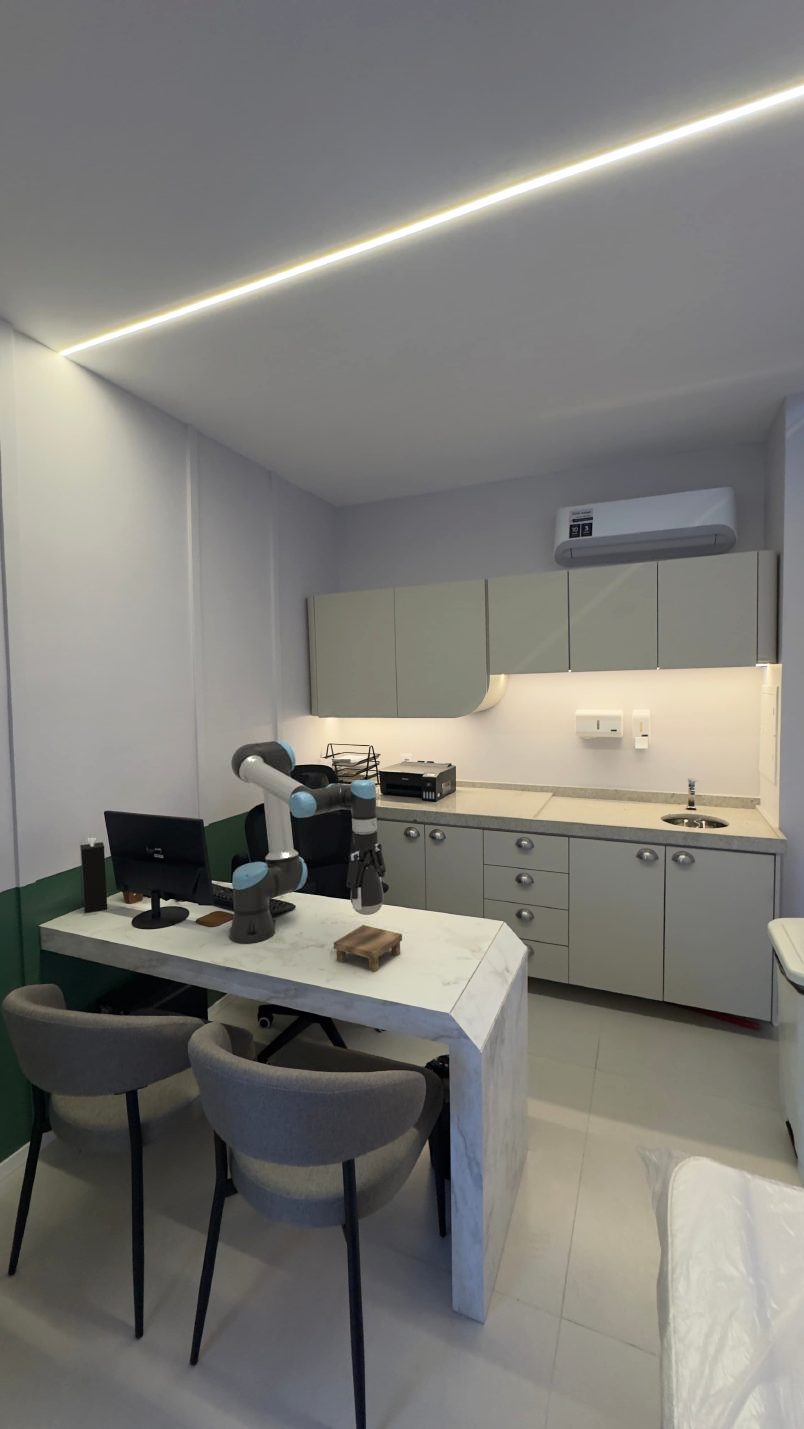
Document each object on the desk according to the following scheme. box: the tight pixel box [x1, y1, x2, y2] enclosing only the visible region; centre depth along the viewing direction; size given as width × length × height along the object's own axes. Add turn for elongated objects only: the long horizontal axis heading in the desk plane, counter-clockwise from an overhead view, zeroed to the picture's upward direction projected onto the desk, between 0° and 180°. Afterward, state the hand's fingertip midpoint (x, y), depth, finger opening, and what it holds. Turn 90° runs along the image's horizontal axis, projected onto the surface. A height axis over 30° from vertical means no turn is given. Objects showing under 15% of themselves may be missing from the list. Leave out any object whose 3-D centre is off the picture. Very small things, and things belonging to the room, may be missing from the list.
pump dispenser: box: [350, 862, 385, 916], centre depth 185 cm, size 10×10×15 cm
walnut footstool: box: [333, 924, 403, 972], centre depth 186 cm, size 15×15×6 cm
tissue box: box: [79, 837, 108, 914], centre depth 235 cm, size 8×8×28 cm
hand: (367, 903), depth 186 cm, fingers closed on pump dispenser, 10 cm apart
